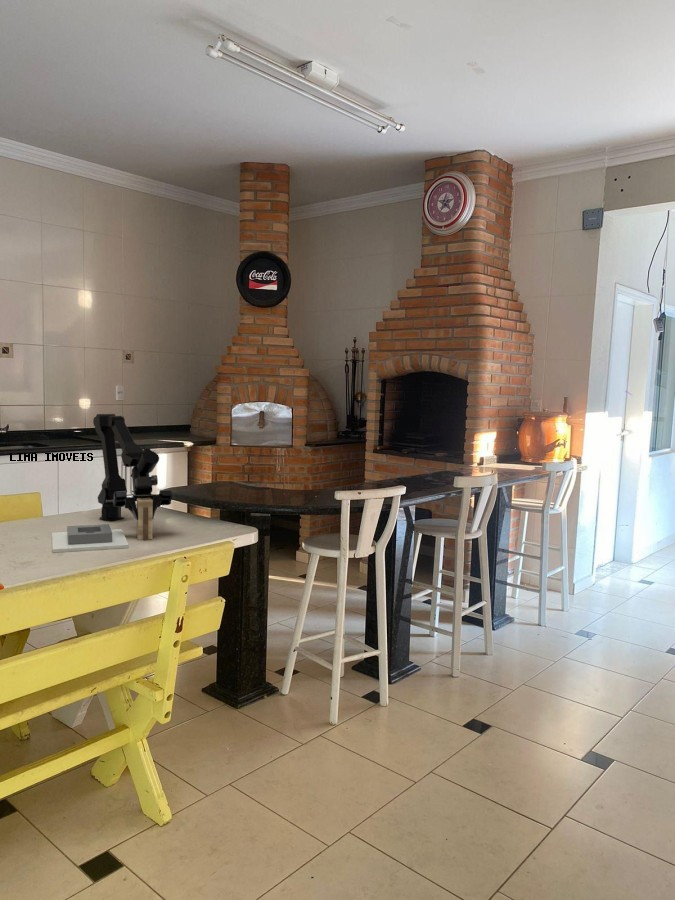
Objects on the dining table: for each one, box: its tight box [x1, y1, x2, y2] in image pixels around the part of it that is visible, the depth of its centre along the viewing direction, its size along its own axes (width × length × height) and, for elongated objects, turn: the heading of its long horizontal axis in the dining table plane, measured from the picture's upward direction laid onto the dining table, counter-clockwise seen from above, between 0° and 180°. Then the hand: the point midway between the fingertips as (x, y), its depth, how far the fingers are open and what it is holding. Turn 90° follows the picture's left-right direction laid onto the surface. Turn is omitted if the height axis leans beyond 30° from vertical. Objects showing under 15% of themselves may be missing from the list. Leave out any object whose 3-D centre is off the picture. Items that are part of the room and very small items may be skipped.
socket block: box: [51, 523, 129, 553], centre depth 219 cm, size 22×22×4 cm
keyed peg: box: [136, 498, 154, 541], centre depth 226 cm, size 6×4×13 cm
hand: (145, 519), depth 225 cm, fingers closed on keyed peg, 4 cm apart
